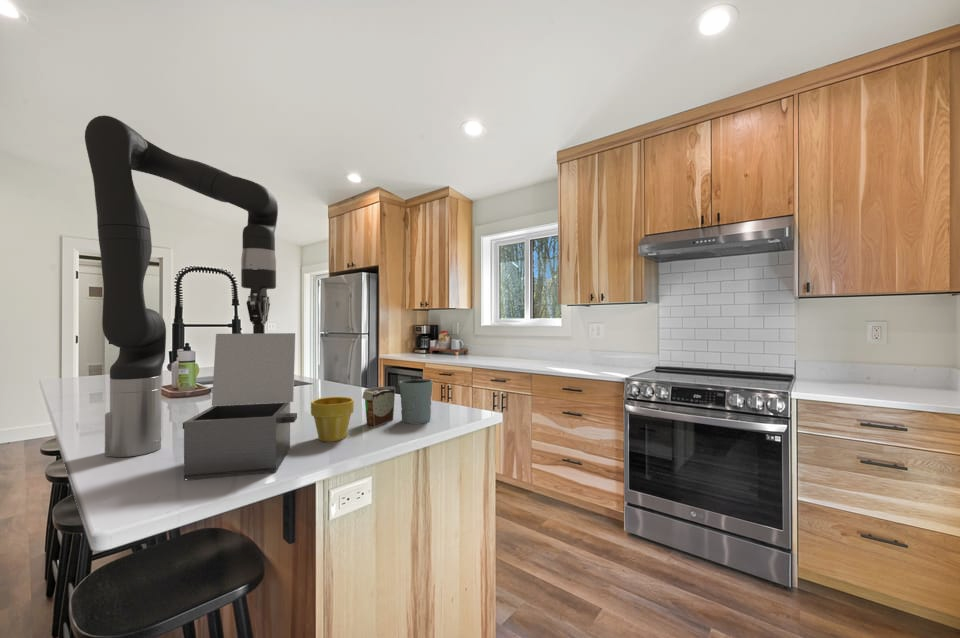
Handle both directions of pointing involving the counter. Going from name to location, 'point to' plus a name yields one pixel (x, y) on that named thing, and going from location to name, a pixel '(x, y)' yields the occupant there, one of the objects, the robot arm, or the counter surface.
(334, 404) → the plant pot
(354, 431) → the counter surface
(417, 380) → the grey green cup
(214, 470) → the grey metal storage bin
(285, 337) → the storage bin lid
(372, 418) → the food container
